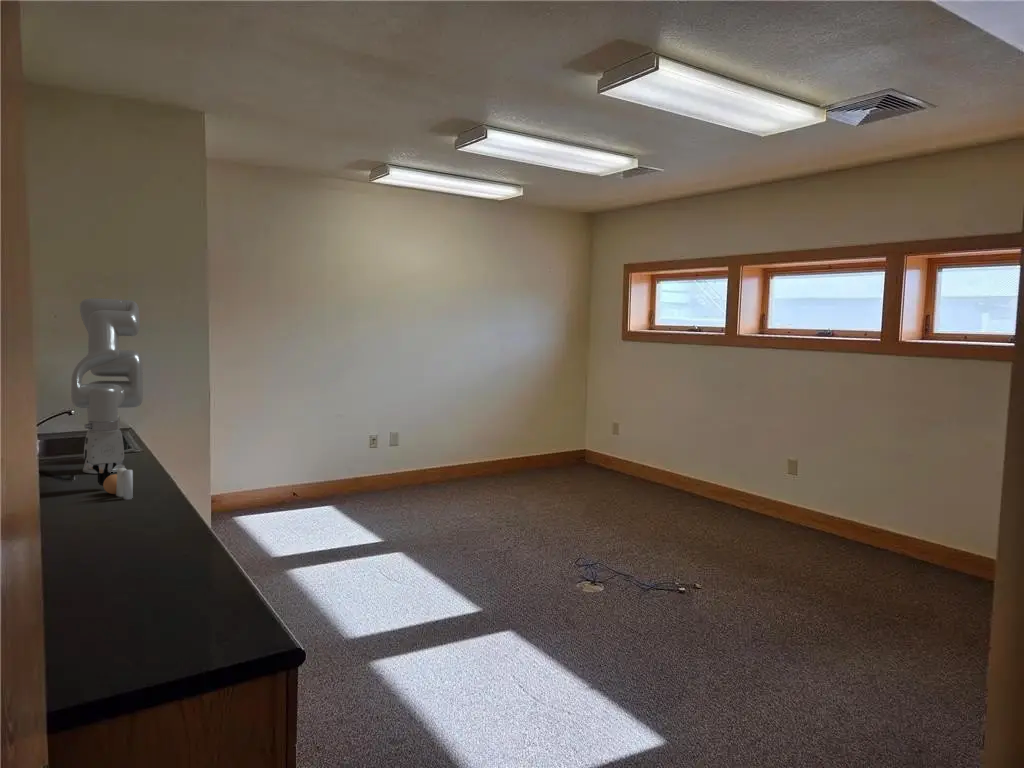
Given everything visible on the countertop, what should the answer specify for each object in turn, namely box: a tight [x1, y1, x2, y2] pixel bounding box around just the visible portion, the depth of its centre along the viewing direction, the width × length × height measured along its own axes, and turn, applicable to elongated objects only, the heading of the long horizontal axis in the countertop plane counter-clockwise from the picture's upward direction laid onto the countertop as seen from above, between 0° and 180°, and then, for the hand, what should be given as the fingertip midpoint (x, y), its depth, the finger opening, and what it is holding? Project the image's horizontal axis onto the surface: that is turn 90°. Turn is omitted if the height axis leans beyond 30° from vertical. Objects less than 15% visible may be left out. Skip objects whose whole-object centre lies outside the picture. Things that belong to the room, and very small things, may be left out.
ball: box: [102, 473, 117, 495], centre depth 203 cm, size 6×6×6 cm
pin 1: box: [115, 467, 128, 498], centre depth 200 cm, size 2×2×8 cm
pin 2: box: [123, 469, 134, 501], centre depth 198 cm, size 2×2×8 cm
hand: (103, 484), depth 207 cm, fingers closed
